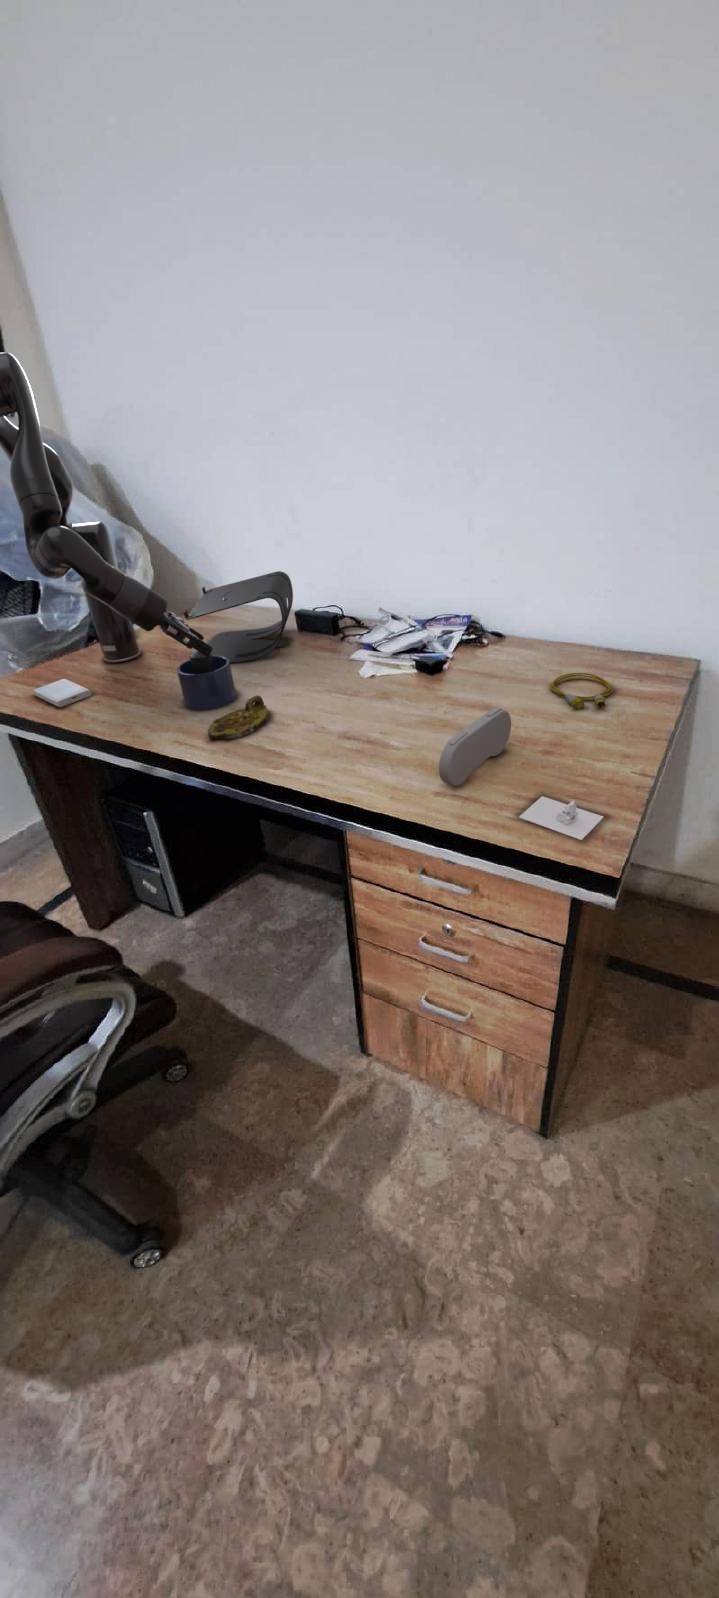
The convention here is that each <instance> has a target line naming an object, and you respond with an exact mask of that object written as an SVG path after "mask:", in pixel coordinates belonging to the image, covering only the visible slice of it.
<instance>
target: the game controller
mask: <svg viewBox="0 0 719 1598" xmlns="http://www.w3.org/2000/svg"><path fill="white" fill-rule="evenodd" d="M511 730H512V719H511V714H510V713H509V711H507V710H504V709H503V708H502V707H493V708H492V709H490V710H488V711H487V712H486V713H484V714H483V715H481V716H480V717H478V718H477V719H475V720H474V721H473V722H471V723H470V724H468V725H467V726H466V727H464V728H463V729H462V730H460V731H459V732H457V733H456V734H455V735H454V736H452V737H451V738H450V739H449V740H448V741H447V742H446V744H445V745H444V747H443V749H442V751H441V754H440V758H439V762H438V775H439V777H440V780H441V781H442V782H443V783H445V784H448V785H451V786H454V787H457V786H460V785H462V784H463V783H464V782H466V780H467V779H468V778H469V777H470V775H471V773H472V772H473V771H474V770H475V769H476V768H477V767H479V766H481V764H482V763H484V762H485V761H486V760H487V759H488V758H490V757H497V756H498V755H500V754H501V753H502V751H504V749H505V747H506V745H507V743H508V741H509V738H510V735H511Z"/></svg>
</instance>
